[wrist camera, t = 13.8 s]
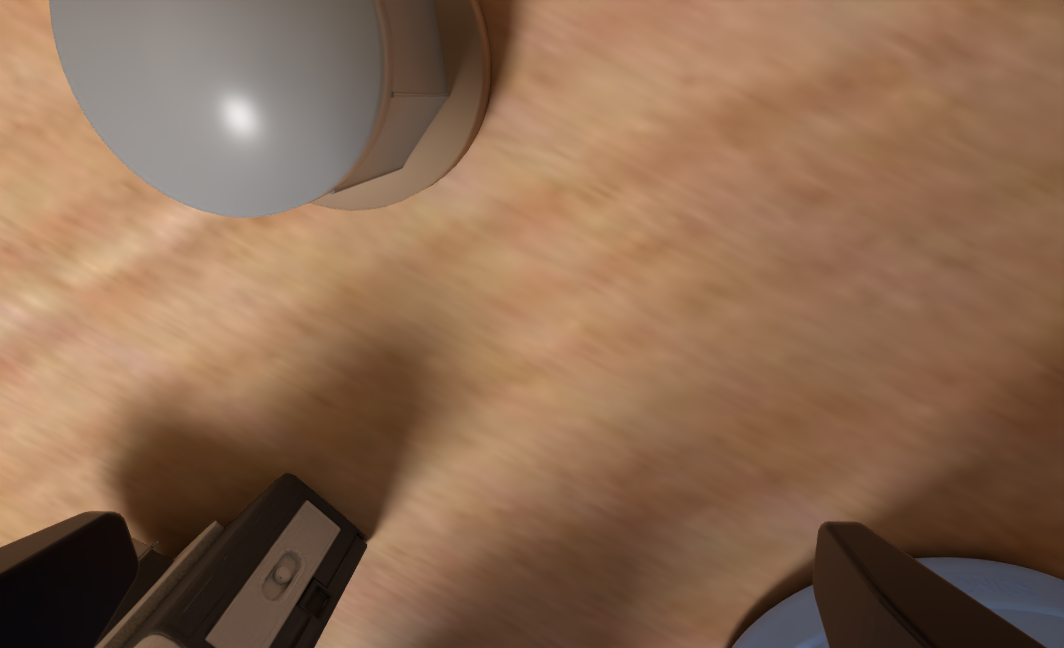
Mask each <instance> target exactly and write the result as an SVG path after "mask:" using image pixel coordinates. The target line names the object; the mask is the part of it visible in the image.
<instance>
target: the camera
mask: <svg viewBox="0 0 1064 648" xmlns="http://www.w3.org/2000/svg"><path fill="white" fill-rule="evenodd" d="M364 536H365V535H364V534H363V533H362V532H361V531H360V530H359V529H357V528H356V527H355V526H354V525H353V524H352V523H351V522H350V521H349V520H347V519H346V518H345V517H344V516H343V515H342V514H340V513H339V512H338V511H337V510H336V509H334V508H333V507H332V506H331V505H330V504H329V503H327V502H326V501H325V500H324V499H323V498H321V497H320V496H319V495H318V494H317V493H315V492H314V491H313V490H312V489H310V488H309V487H308V486H307V485H305V484H304V483H303V482H302V481H300V480H299V479H298V478H297V477H295V476H294V475H292V474H284V475H283V476H282V477H280V478H279V479H278V480H276V481H275V482H274V483H273V484H272V485H271V486H270V487H269V488H268V489H266V490H265V491H264V492H263V493H262V494H261V495H260V496H259V497H258V498H257V499H256V500H255V501H254V502H252V503H251V504H250V505H249V506H248V507H247V508H246V509H245V510H244V511H243V512H242V513H241V514H240V515H238V516H237V517H236V518H235V519H234V520H233V521H232V522H231V523H230V524H229V525H228V526H227V527H226V528H225V527H223V526H222V525H221V524H219V523H218V522H217V521H214V522H213V523H212V524H211V525H209V526H208V527H207V528H206V529H205V530H204V531H203V532H202V533H201V534H200V535H199V536H198V537H197V538H196V539H195V540H194V541H192V542H191V543H190V544H189V545H188V546H187V547H186V548H185V549H184V550H183V551H182V552H181V553H180V554H179V555H178V556H177V557H176V558H175V559H173V560H171V559H169V558H167V557H165V556H163V555H162V554H160V553H158V552H156V551H154V550H153V549H152V548H153V547H154V546H155V545H156V544H157V543H158V542H157V541H156V542H155V543H154V544H153V545H152V546H151V547H149V546H147V545H146V544H144V543H142V542H140V541H138V540H136V539H134V538H132V537H131V538H132V541H133V544H134V547H135V550H136V552H137V555H138V558H139V571H138V575H137V577H136V580H135V581H134V583H133V585H132V587H131V588H130V590H129V592H128V593H127V595H126V596H125V598H124V600H123V601H122V603H121V605H120V606H119V608H118V610H117V611H116V613H115V615H114V616H113V618H112V620H111V621H110V623H109V625H108V626H107V628H106V630H105V631H104V633H103V634H102V636H101V638H100V639H99V641H98V643H97V644H96V646H95V648H314V647H315V645H316V643H317V641H318V640H319V638H320V636H321V634H322V632H323V630H324V628H325V626H326V624H327V622H328V620H329V619H330V617H331V615H332V613H333V611H334V609H335V607H336V605H337V603H338V601H339V600H340V598H341V596H342V594H343V592H344V590H345V588H346V586H347V584H348V582H349V581H350V579H351V577H352V575H353V573H354V571H355V569H356V567H357V565H358V563H359V562H360V560H361V558H362V556H363V554H364V552H365V550H366V548H367V544H366V543H365V542H364V541H362V540H363V538H364Z"/></svg>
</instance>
